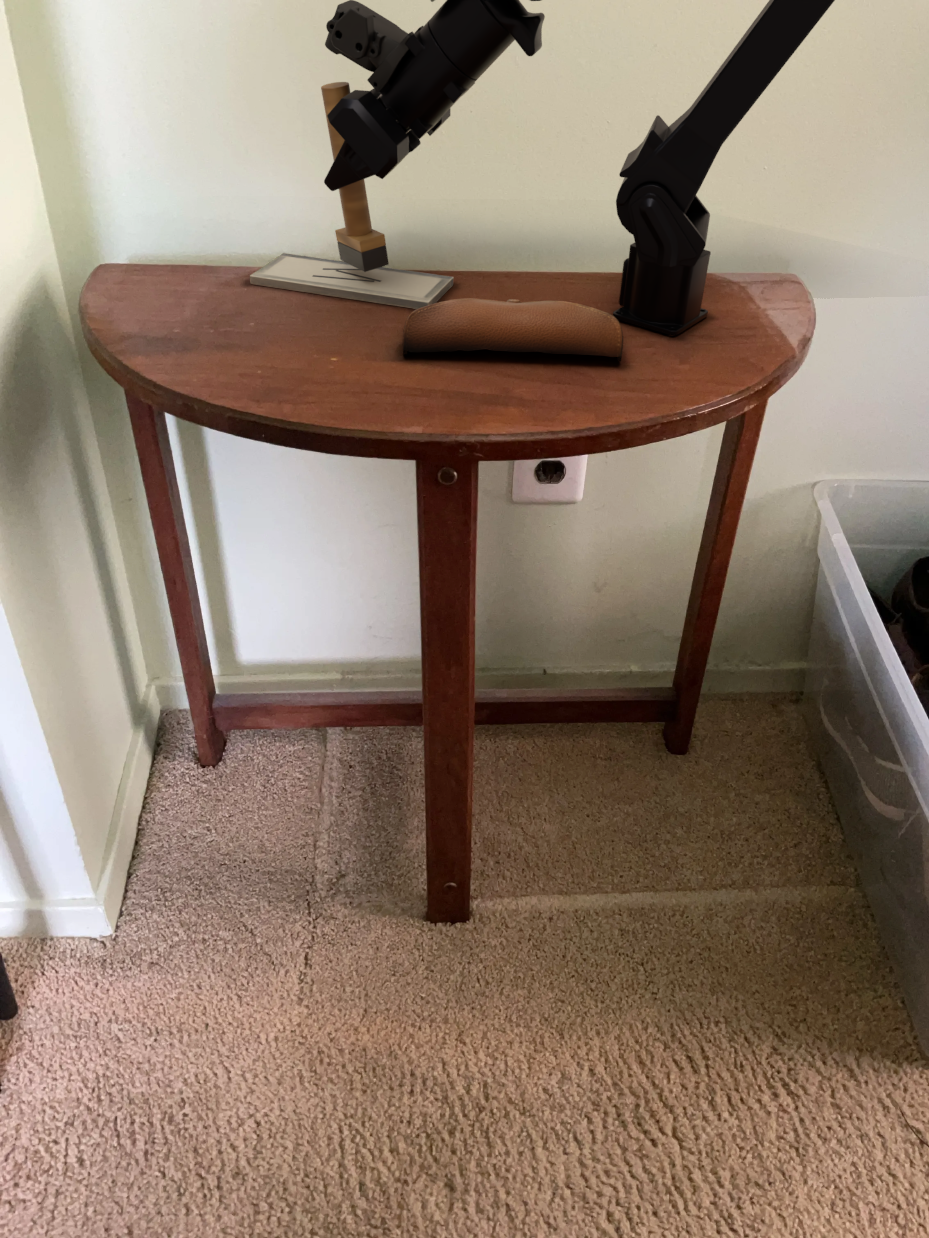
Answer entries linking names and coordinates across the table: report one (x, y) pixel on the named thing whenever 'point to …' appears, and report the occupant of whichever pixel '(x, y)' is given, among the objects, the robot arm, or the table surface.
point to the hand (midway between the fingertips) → (333, 182)
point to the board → (352, 281)
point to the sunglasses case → (513, 328)
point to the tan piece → (353, 203)
